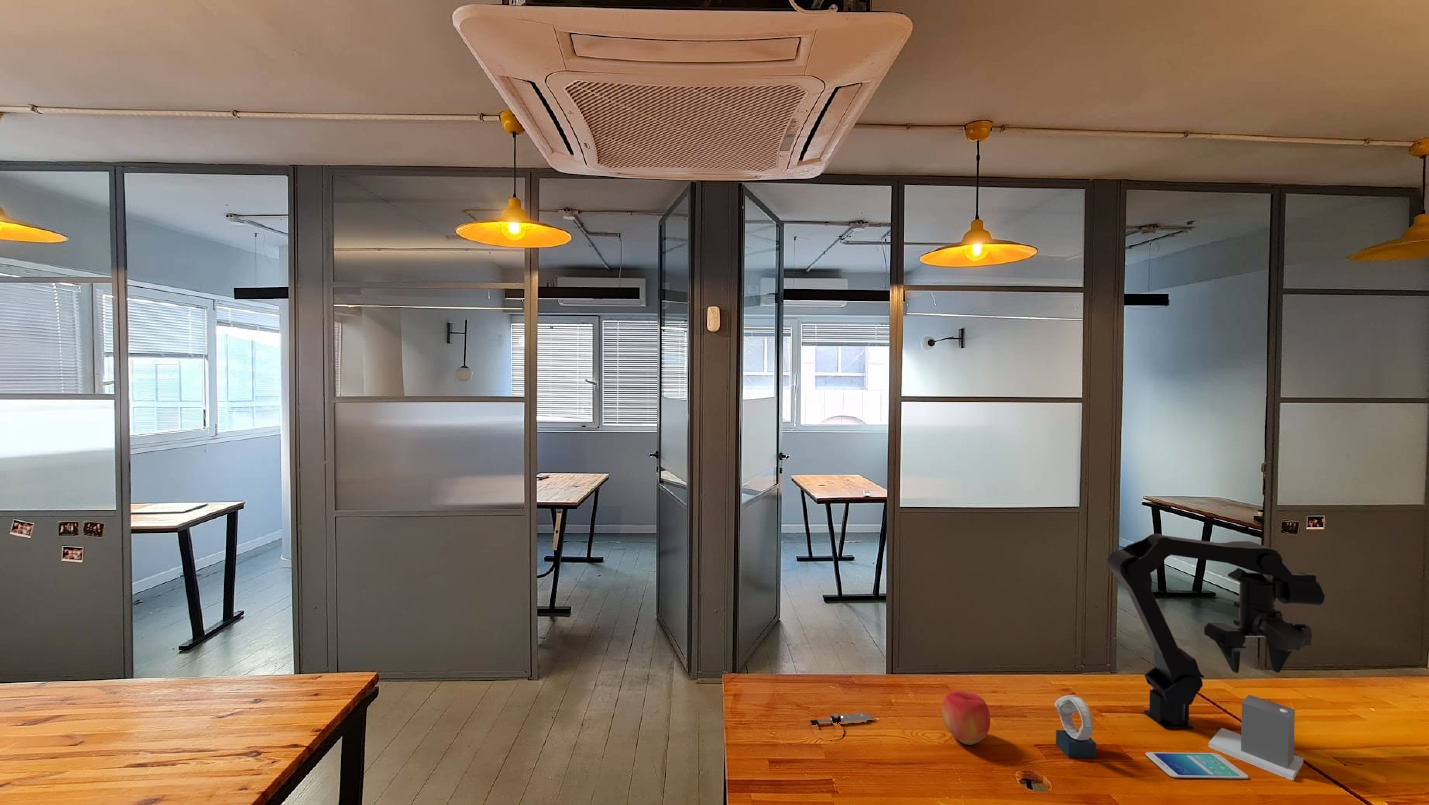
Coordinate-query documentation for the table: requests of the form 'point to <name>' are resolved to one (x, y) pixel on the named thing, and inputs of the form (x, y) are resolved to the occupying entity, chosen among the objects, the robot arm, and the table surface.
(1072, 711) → the watch
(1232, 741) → the post stand
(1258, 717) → the gray rectangular block
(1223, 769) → the smartphone
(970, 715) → the apple
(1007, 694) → the table surface
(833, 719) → the micrometer
